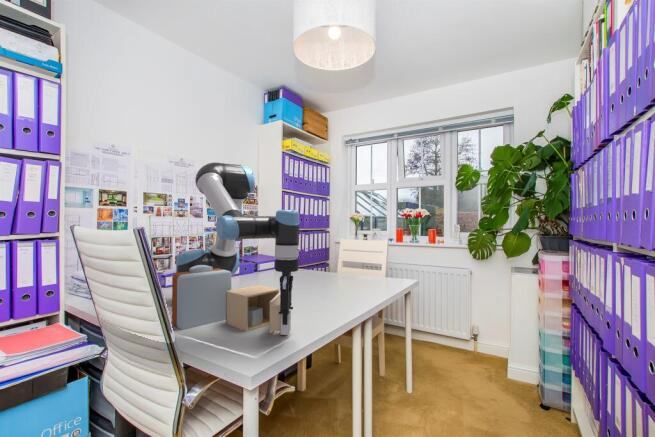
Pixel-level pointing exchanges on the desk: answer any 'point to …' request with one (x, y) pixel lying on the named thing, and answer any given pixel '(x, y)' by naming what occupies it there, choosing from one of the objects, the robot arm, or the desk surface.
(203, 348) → the desk surface
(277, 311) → the flap
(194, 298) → the grey rounded slab
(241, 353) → the desk surface
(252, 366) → the desk surface
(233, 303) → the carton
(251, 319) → the contents block
